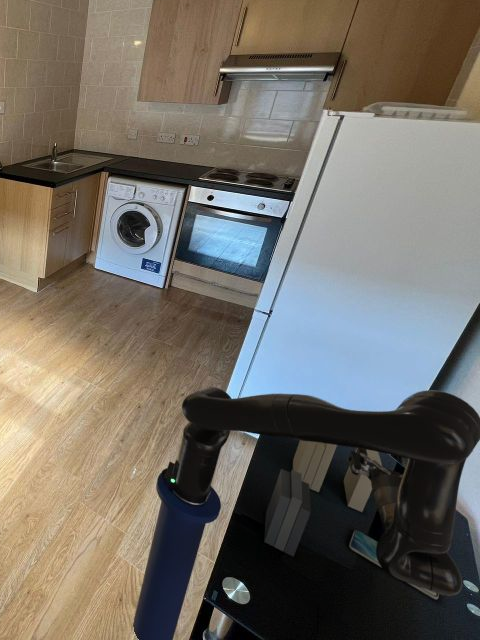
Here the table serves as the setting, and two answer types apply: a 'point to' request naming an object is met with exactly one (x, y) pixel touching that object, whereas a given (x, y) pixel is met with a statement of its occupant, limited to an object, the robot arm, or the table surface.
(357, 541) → the smartphone
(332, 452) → the beige books
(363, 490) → the beige thin block
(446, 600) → the table surface
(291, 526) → the grey books
